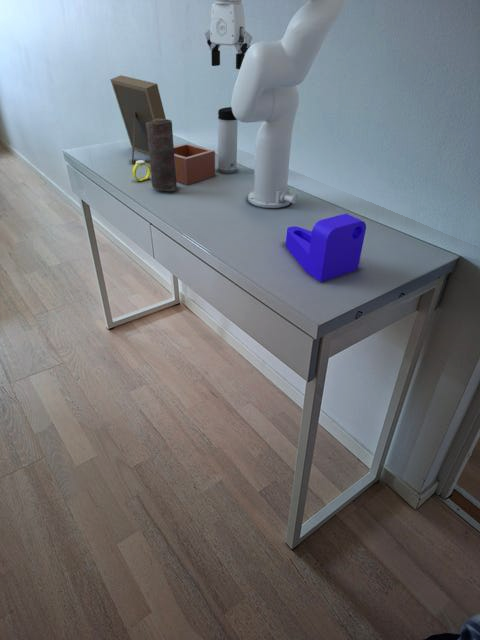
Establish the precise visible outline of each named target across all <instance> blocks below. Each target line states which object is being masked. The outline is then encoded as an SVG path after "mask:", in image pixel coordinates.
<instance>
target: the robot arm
mask: <svg viewBox="0 0 480 640" xmlns="http://www.w3.org/2000/svg"><path fill="white" fill-rule="evenodd" d="M346 3H347V0H308V1H306V2H305V3H304V4H303V5H302V6H301V7H300V8H299V9H298V10H297V11H296V12H295V13H294V14H293V16H292V17H291V19H290V21H289V22H288V25H287V28H286V31H285V33H284V34H283V36H282V38H280V39H278V40H263V41H262V40H261V41H257V42H255V43H253V44H251V43H252V40H253V36H252V35H251V33H249V32H248V31H247V30H246V22H245V19H246V18H245V10H244V4H243V3H242V0H214V3H212V6H211V12H210V23H209V25H210V26H209V29H208V30H207V31H206V32H205V33H204V36H205V39H206V44H207V45H208V47H209V51H211V66H212V67H218V66H220V65H221V50H219V49H220V48H221V46H230V47H231V46H234V48H235V50H236V52H237V53H235V69H236V70H238V75H237V78H236V81H235V84H234V87H233V90H232V93H231V104H230V105H231V106H230V107H232V112H233V115H234V116H235V118H236V119H237V121H239V122H240V123H247V124H248V123H259V122H260V123H261V122H262V123H261V124H260V126H259V129H258V130H257V134H256V136H255V137H256V138H255V152H254V153H255V154H254V177H253V191H251V192H250V193H249V194H248V196H247V200H248V202H249V203H250V204H251V205H253V206H256V207H259V208H264V209H279V208H284V207H287V206H288V205H290V204H292V205H294V204H295V203H296V201H297V198H298V195H297V194H296V193H293V192H291V186H288V180H289V169H290V168H289V167H290V157H291V148H292V147H291V146H292V136H293V130H294V124H295V119H296V116H297V115H296V114H297V111H298V108H299V102H300V94H299V90H298V88H297V86H299V85H300V84H302V83H303V82H304V81H305V79H306V77H307V76H308V74H309V72H310V69H311V68H312V65H313V64H314V63H315V60H316V57H317V55H318V54H319V51H320V49H321V47H322V45H323V43H324V41H325V39H326V37H327V35H328V33H329V32H330V31H331V30H332V28H333V26H334V25H335V23H336V22H337V20H338V19H339V17H340V16H341V14H342V12H343V10H344V8H345V5H346Z"/></svg>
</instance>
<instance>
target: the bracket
mask: <svg viewBox="0 0 480 640" xmlns="http://www.w3.org/2000/svg"><path fill="white" fill-rule="evenodd" d="M366 231H367V224H366V222H365V221H363V220H362V219H360V218H357V217H356V216H353V215H351V214H349V213H342V214H338V215H335V216H331V217H326V218H323V219H320V220H318V221H317V222H316V223H315V224H314V225H313V228H312V230H308V229H307V228H303V227H300V226H293V225H292V226H289V227H287V228H286V236H285V248H286V249H287V250H288V251H289V253H290V254H291V255H292V257H293V258H294V259H295V261H297V263H298V264H299V265H300V267H302V269H303V270H304V271H305V272H306V274H308V275H310V277H312V278H313V279H315V280H317V281H318V282H320V283H322V282H325V281H328V280H330V279H333V278H336V277H340V276H343V275H345V274H348V273H351V272H354V271H357V270H358V269H359V265H360V261H361V260H360V259H361V255H362V250H363V245H364V241H365V235H366Z"/></svg>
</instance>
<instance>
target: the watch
mask: <svg viewBox="0 0 480 640" xmlns="http://www.w3.org/2000/svg"><path fill="white" fill-rule="evenodd" d="M143 165H145V167H146V170H147V171H146V172H147V173H146V175H145V176H144V177H142V178H138V177H137V175H136V172H137V169H138V167H139V166H143ZM131 172H132V173H131V174H132V177H133V179H134V180H136V181H137V182H143V181H146V180H148V179H149V178H150V177H151V168H150V164H149V163H147V162H145V160H143V159H139V160H136V161H135V164H134V165H133V166H132V169H131Z"/></svg>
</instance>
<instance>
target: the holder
mask: <svg viewBox="0 0 480 640" xmlns="http://www.w3.org/2000/svg"><path fill="white" fill-rule="evenodd" d="M174 158H175V170H176V182H177V183H181V184H183V185H186V186H188V185H192V184H195V183H197V182H201V181H203V180H206V179H209V178H212V177H215V176H216V150H213V149H210V148H206V147H202V146H199V145H195V144H192V143H187V142H186V143H182V144H178V145H175V146H174Z"/></svg>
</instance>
